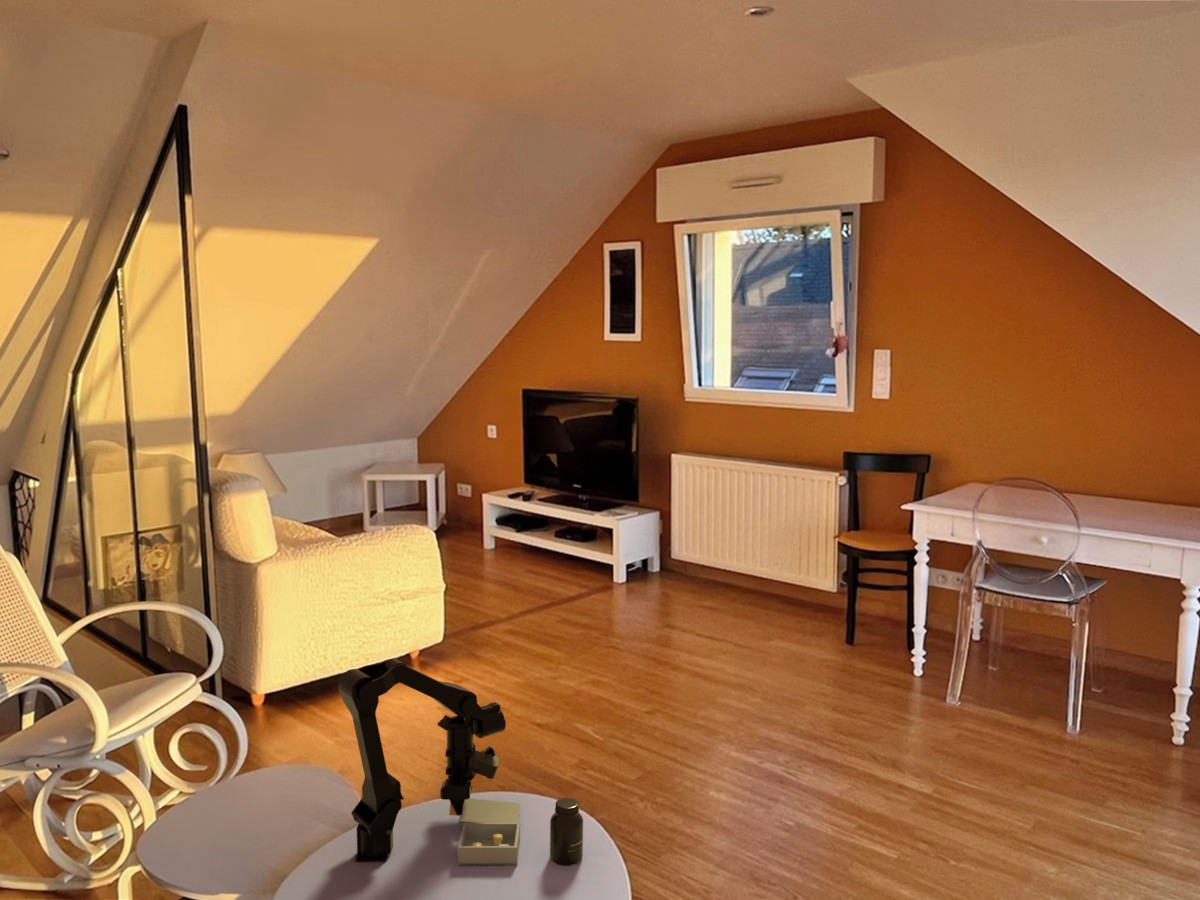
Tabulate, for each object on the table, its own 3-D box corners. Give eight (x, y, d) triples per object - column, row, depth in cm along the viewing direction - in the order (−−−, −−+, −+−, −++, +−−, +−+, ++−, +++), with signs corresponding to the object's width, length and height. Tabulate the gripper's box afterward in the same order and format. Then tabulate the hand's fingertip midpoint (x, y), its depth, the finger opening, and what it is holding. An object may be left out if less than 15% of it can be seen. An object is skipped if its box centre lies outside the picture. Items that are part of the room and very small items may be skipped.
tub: (457, 866, 192) (457, 847, 191) (463, 840, 202) (463, 822, 201) (517, 866, 192) (517, 847, 192) (520, 840, 202) (520, 822, 201)
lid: (446, 827, 204) (448, 805, 204) (452, 804, 214) (454, 783, 214) (516, 834, 205) (519, 812, 204) (519, 810, 215) (521, 789, 215)
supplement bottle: (578, 869, 191) (579, 812, 190) (546, 865, 193) (546, 809, 191) (586, 851, 198) (586, 796, 197) (554, 847, 199) (554, 793, 198)
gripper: (493, 762, 198) (493, 832, 200) (500, 726, 217) (500, 790, 219) (439, 762, 198) (440, 832, 200) (451, 726, 217) (451, 790, 218)
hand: (460, 810), depth 209 cm, fingers closed on lid, 3 cm apart
